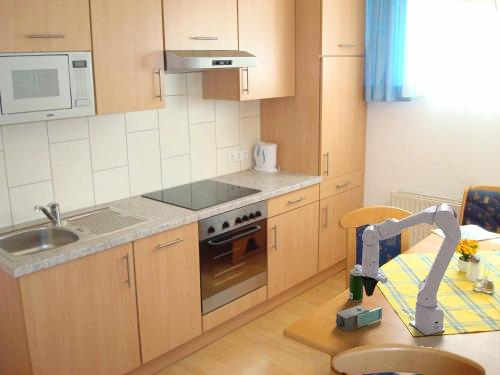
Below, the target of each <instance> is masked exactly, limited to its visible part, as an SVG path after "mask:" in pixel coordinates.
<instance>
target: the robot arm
mask: <svg viewBox="0 0 500 375" xmlns="http://www.w3.org/2000/svg"><path fill="white" fill-rule="evenodd" d="M421 224H427V225H430V226H434V224H435V226H436V227H437V228H438V229H440V231H442V234H443V235H444V238H443V240H442V243H441V245H440V247H439V250H438V251H437V253H436V256H435V258H434V261H433V263H432V265H431V266H430V269H429V271H428V272H427V274H426V276H425V278H424V279H423V280H422V281H420V283H419V284H418V291H417V296H416V300H415V314H414V316H415V317H414V320H411V321H409V324H410V325H411V326H413V327H415V328H416V329H417V330H419V331H420V332H421V333H422V334H424V335H432V334H437V333H440V332H445V331H446V328H444V318H445V316H444V315H445V314H444V311H443V310H442V309H441V308H440V307H439V303H438V302H439V301H438V300H437V294H438V292H439V288H440V286H441V282H442V281H443V278H444V276H445V274H446V271H447V270H448V268H449V265H450V263H451V261H452V259H453V256H454V254H455V252H456V251H457V248H458V246H459V243H460V242H461V240H462V230H461V226H460V221H459V217H458V213H457V211H456V209H455V208H454V207H453V206H452V205H451V204H449V203H446V202H444V203H439V204H438V205H432V206H429V207H428V208H425V209H423V210H420V211H418V212H415V213H413V214H411V215H408V216H406V217H403V218H401V219H396V218H390V217H388V218H386V220H385V221H383V222H379V223H374V224H372V225H368V226H366V227H365V229H364V231H363V232H362V236H361V240H362V245H363V246H362V255H361V256H362V259H361V260H362V261H361V262H362V264H355V265H353V268H354V271H358V272H360V275H362V276H361V277H360V279H361V281H362V283H363V289H364V292H365V295H366V297H372V296H373V295H374V292H375V289H376V287H377V285H378V284H379V282H380V283H381V284H384V285H385V284H387V283H388V277H387V276H385V275H384V274H383V273H382V272H380V271H379V270H380V268H379V266H380V264H379V263H380V241H384V240H388V239H390V238H393V237H394V236H398V235H400V234H401V233H402V230H405V229H407V228H412V227H415V226H418V225H421Z"/></svg>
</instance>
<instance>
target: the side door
mask: <svg viewBox="0 0 500 375" xmlns="http://www.w3.org/2000/svg"><path fill="white" fill-rule="evenodd" d="M382 319H383V307H382V306H379V307H376V308H374V309H372V310H371V309H370V310H369V311H368V312H365V313H363V314H360V315H357V328H358V329H359V328H360V327H364V326H366V325H367V326H368V325H369V324H372V323H374V322H376V321H379V320H382Z"/></svg>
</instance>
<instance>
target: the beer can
mask: <svg viewBox="0 0 500 375" xmlns="http://www.w3.org/2000/svg"><path fill="white" fill-rule="evenodd" d="M361 276H362V275H360V272H358V271H354V267H353V268H351V269H350V271H349V282H348V283H349V287H348V288H349V289H348V292H349V293H348V297H349V300H350V301H351V302H354V303H358V302H362V301H363V299H364V285H363V283H362V281H361V279H360V277H361Z"/></svg>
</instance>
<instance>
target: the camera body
mask: <svg viewBox="0 0 500 375" xmlns="http://www.w3.org/2000/svg"><path fill="white" fill-rule="evenodd" d="M368 311H370V309H368V308H366V307H364V306H362V305H360V304H358V305H355V306H353V307H350V308H346V309H344V310H341V311H338V312H336V314H335V316H336V318H335V325H336V327H337V328H339V329H341V330H342V331H344V332H348V331H352V330H354V329H357V328H358V327H357V315H360V314H363V313H365V312H368Z"/></svg>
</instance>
